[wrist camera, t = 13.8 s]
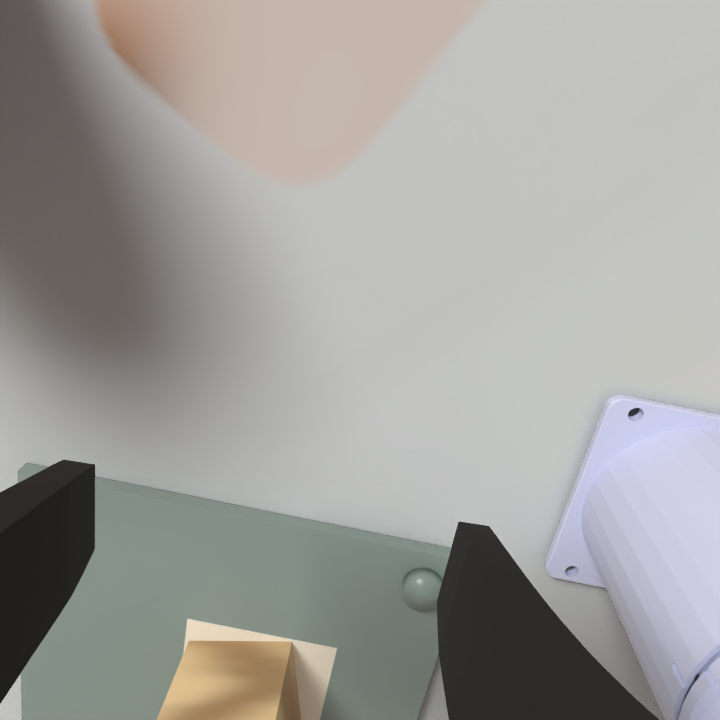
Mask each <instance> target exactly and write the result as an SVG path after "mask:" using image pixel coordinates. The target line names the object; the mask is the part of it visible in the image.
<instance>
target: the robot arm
mask: <svg viewBox="0 0 720 720" xmlns="http://www.w3.org/2000/svg"><path fill="white" fill-rule="evenodd" d="M633 408H639V412H638V413H637V414H636V415H634V416H628V413H629V412H630V410H631V409H633ZM94 550H95V465H94V464H87V463H81V462H75V461H68V460H62V461H60V462H58V463H56V464H54V465H52V466H50V467H48V468H46V469H44V470H42V471H40V472H38V473H36V474H34V475H32V476H30V477H29V478H27V479H25V480H23V481H21V482H19V483H17V484H15V485H14V486H12V487H10V488H8V489H6V490H4V491H2V492H0V703H1V702H2V700H3V699H4V697H5V696H6V694H7V693H8V691H9V690H10V688H11V687H12V685H13V684H14V682H15V681H16V679H17V678H18V676H19V675H20V673H21V672H22V670H23V669H24V667H25V666H26V664H27V663H28V661H29V660H30V658H31V657H32V655H33V654H34V652H35V651H36V649H37V648H38V647H39V645H40V644H41V642H42V641H43V639H44V638H45V636H46V635H47V633H48V632H49V630H50V629H51V627H52V626H53V624H54V622H55V621H56V619H57V618H58V616H59V615H60V613H61V612H62V610H63V609H64V607H65V606H66V604H67V603H68V601H69V600H70V598H71V596H72V595H73V593H74V591H75V589H76V587H77V585H78V583H79V581H80V579H81V577H82V575H83V573H84V571H85V569H86V567H87V565H88V563H89V561H90V558H91V556H92V554H93V552H94ZM544 565H545V568H546V571H547V573H548V574H549V575H550V576H551V577H554V578H557V579H562V580H567V581H572V582H577V583H582V584H587V585H592V586H597V587H602V588H606V590H607V592H608V594H609V596H610V598H611V601H612V603H613V605H614V607H615V610H616V612H617V614H618V616H619V619H620V621H621V623H622V625H623V627H624V630H625V632H626V634H627V636H628V639H629V641H630V643H631V645H632V647H633V650H634V652H635V654H636V656H637V659H638V661H639V663H640V665H641V668H642V670H643V672H644V674H645V676H646V679H647V681H648V683H649V685H650V688H651V690H652V692H653V694H654V696H655V699H656V701H657V703H658V705H659V708H660V710H661V712H662V714H663V716H664V719H665V720H720V415H719V414H714V413H709V412H704V411H699V410H694V409H690V408H685V407H680V406H675V405H670V404H665V403H660V402H656V401H651V400H646V399H641V398H636V397H631V396H626V395H616V396H613V397H611V398H610V399H608V400H607V402H606V404H605V406H604V408H603V411H602V413H601V416H600V419H599V421H598V424H597V426H596V429H595V432H594V434H593V437H592V439H591V442H590V445H589V447H588V450H587V452H586V455H585V458H584V460H583V463H582V465H581V468H580V471H579V473H578V476H577V478H576V481H575V484H574V486H573V489H572V491H571V494H570V497H569V499H568V502H567V504H566V507H565V510H564V512H563V515H562V517H561V520H560V523H559V525H558V528H557V530H556V533H555V536H554V538H553V541H552V543H551V546H550V549H549V551H548V554H547V556H546V559H545V564H544ZM570 566H575V568H574V569H571V570H566V568H567V567H570ZM437 628H438V651H439V658H440V665H441V671H442V678H443V684H444V691H445V697H446V703H447V710H448V716H449V720H659V719H658V718H656V717H655V716H654V715H653V714H652V713H651V712H650V711H648V710H647V709H646V708H645V707H644V706H643V705H642V704H641V703H640V702H639V701H637V700H636V699H635V698H634V697H633V696H632V695H631V694H630V693H629V692H628V691H627V690H626V689H625V688H624V687H623V686H622V685H621V684H620V683H619V682H618V681H617V680H616V679H615V678H614V677H613V676H612V675H611V674H610V673H609V672H608V671H607V670H606V669H605V668H604V667H603V666H602V665H601V664H600V663H599V662H598V661H597V660H596V659H595V658H594V657H593V656H592V655H591V654H590V653H589V652H588V651H587V650H586V649H585V647H584V646H583V645H582V644H581V643H580V642H579V641H578V639H577V638H576V637H575V636H574V635H573V634H572V633H571V632H570V630H569V629H568V628H567V627H566V626H565V625H564V624H563V622H562V621H561V620H560V619H559V618H558V616H557V615H556V614H555V613H554V612H553V610H552V609H551V608H550V607H549V605H548V604H547V603H546V602H545V601H544V599H543V598H542V597H541V595H540V594H539V593H538V592H537V590H536V589H535V588H534V586H533V585H532V584H531V583H530V581H529V580H528V579H527V577H526V576H525V575H524V573H523V572H522V571H521V569H520V568H519V567H518V565H517V564H516V562H515V561H514V560H513V558H512V557H511V556H510V554H509V553H508V552H507V550H506V549H505V547H504V546H503V545H502V543H501V542H500V540H499V539H498V538H497V536H496V535H495V534H494V532H493V531H492V530H491V528H490V527H489V526H484V525H478V524H471V523H465V522H458V526H457V530H456V533H455V537H454V541H453V544H452V548H451V551H450V555H449V559H448V562H447V566H446V569H445V573H444V577H443V580H442V584H441V588H440V591H439V595H438V598H437Z"/></svg>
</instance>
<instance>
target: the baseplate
mask: <svg viewBox="0 0 720 720" xmlns="http://www.w3.org/2000/svg"><path fill="white" fill-rule="evenodd" d="M46 468H48V467H44V466H39V465H34V464H29V463H26V464H25V465H24V466H23V467H22V468H20V469H19V470H18V483H19V482H21V481H23V480H25V479H27V478H29V477H30V476H32V475H34V474H36V473H38V472H40V471H42V470H44V469H46ZM450 551H451V548H447V547H442V546H437V545H432V544H427V543H422V542H417V541H412V540H407V539H402V538H397V537H392V536H387V535H382V534H377V533H372V532H367V531H362V530H357V529H352V528H348V527H343V526H338V525H333V524H328V523H323V522H318V521H313V520H308V519H303V518H298V517H293V516H288V515H283V514H278V513H273V512H268V511H263V510H258V509H253V508H248V507H243V506H238V505H233V504H228V503H223V502H218V501H213V500H208V499H203V498H198V497H193V496H188V495H184V494H179V493H174V492H169V491H164V490H159V489H154V488H149V487H144V486H139V485H134V484H129V483H124V482H119V481H114V480H109V479H104V478H99V477H95V550H94V552H93V554H92V556H91V558H90V561H89V563H88V565H87V567H86V569H85V571H84V573H83V575H82V577H81V579H80V581H79V583H78V585H77V587H76V589H75V591H74V593H73V595H72V596H71V598H70V600H69V601H68V603H67V604H66V606H65V607H64V609H63V610H62V612H61V613H60V615H59V616H58V618H57V619H56V621H55V622H54V624H53V626H52V627H51V629H50V630H49V632H48V633H47V635H46V636H45V638H44V639H43V641H42V642H41V644H40V645H39V647H38V648H37V649H36V651H35V652H34V654H33V655H32V657H31V658H30V660H29V661H28V663H27V664H26V666H25V667H24V669H23V670H22V672H21V699H22V720H157V718H158V715H159V713H160V710H161V708H162V705H163V703H164V700H165V698H166V696H167V693H168V691H169V688H170V686H171V683H172V681H173V678H174V676H175V674H176V671H177V669H178V666H179V664H180V661H181V659H182V656H183V654H184V652H185V649H186V647H187V644H188V642H189V641H285V642H292V647H293V656H294V664H295V672H296V681H297V689H298V698H299V706H300V714H301V720H417V719H418V716H419V713H420V710H421V707H422V704H423V700H424V697H425V694H426V691H427V688H428V685H429V682H430V679H431V676H432V673H433V670H434V667H435V664H436V661H437V658H438V655H439V651H438V628H437V598H438V595H439V591H440V588H441V584H442V580H443V577H444V573H445V569H446V566H447V562H448V559H449V555H450Z"/></svg>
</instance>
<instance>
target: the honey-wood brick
mask: <svg viewBox="0 0 720 720" xmlns="http://www.w3.org/2000/svg"><path fill="white" fill-rule="evenodd" d="M157 720H301V714H300V706H299V698H298V689H297V681H296V672H295V664H294V656H293V647H292V642H285V641H189V642H188V644H187V647H186V649H185V652H184V654H183V656H182V659H181V661H180V664H179V666H178V669H177V671H176V674H175V676H174V678H173V681H172V683H171V686H170V688H169V691H168V693H167V696H166V698H165V700H164V703H163V705H162V708H161V710H160V713H159V715H158V718H157Z"/></svg>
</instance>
